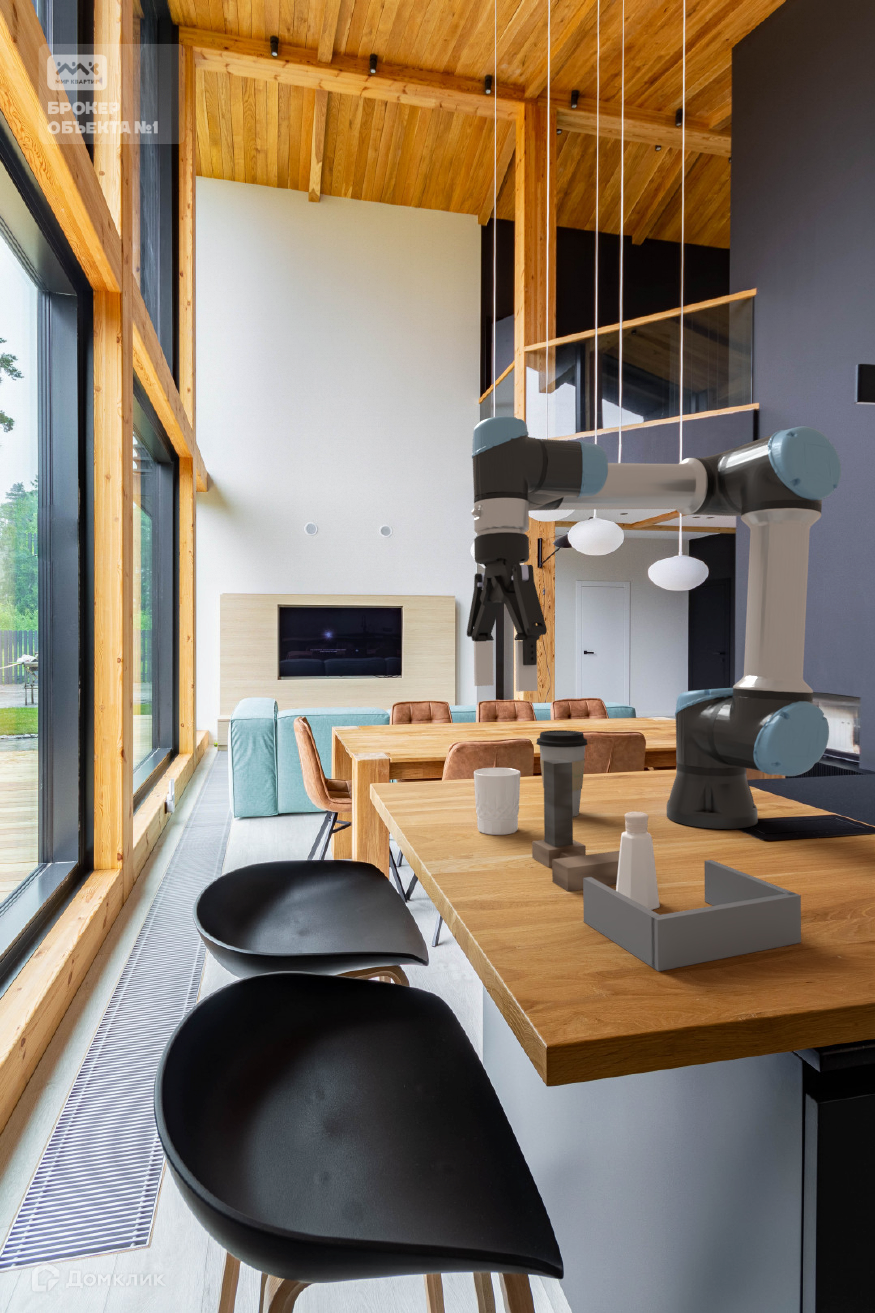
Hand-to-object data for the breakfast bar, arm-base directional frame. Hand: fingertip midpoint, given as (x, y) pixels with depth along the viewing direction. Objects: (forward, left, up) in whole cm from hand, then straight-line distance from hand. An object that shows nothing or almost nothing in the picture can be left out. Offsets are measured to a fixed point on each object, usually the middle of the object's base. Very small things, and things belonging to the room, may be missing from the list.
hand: (504, 688), depth 101 cm
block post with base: (-9, +3, -26) cm, 27 cm away
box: (-9, +26, -26) cm, 38 cm away
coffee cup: (-24, -27, -26) cm, 44 cm away
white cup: (-8, -21, -26) cm, 34 cm away
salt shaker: (-9, +17, -26) cm, 32 cm away
